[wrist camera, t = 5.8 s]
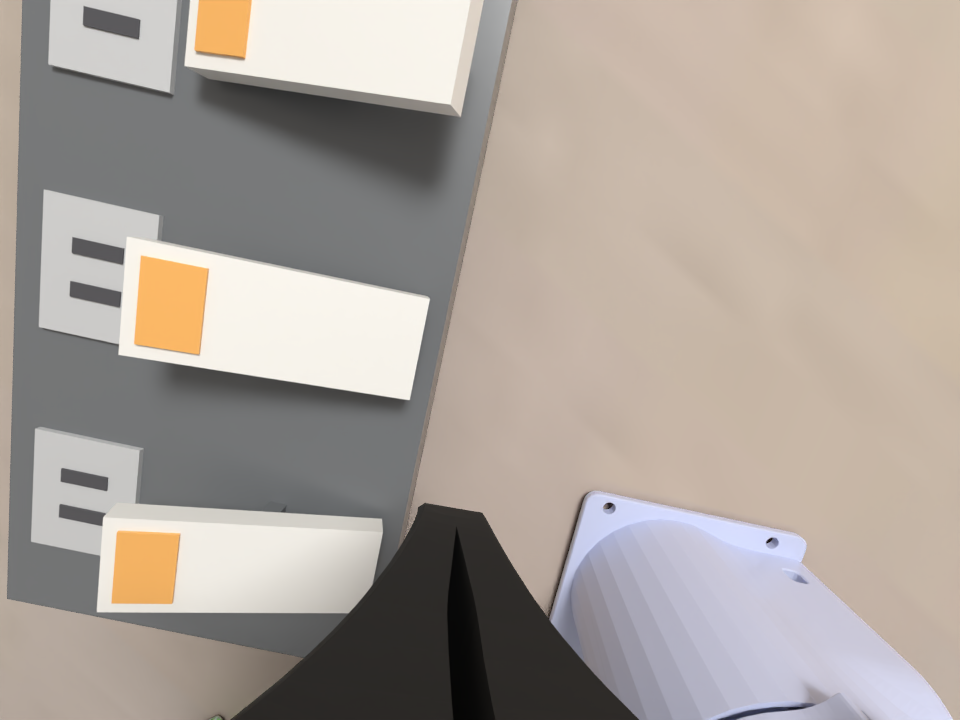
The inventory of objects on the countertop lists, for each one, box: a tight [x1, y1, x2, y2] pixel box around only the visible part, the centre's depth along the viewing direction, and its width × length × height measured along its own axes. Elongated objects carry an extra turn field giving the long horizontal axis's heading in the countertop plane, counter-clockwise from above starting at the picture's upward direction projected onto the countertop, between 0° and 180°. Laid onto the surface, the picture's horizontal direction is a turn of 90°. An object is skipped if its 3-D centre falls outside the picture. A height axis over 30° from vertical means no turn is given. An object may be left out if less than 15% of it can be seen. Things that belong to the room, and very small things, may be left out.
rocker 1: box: [184, 0, 484, 117], centre depth 12 cm, size 8×3×1 cm, turn 77°
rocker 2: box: [97, 503, 383, 613], centre depth 15 cm, size 8×3×1 cm, turn 77°
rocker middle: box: [118, 237, 430, 400], centre depth 14 cm, size 8×3×1 cm, turn 78°
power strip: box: [7, 0, 518, 658], centre depth 16 cm, size 14×26×4 cm, turn 167°
